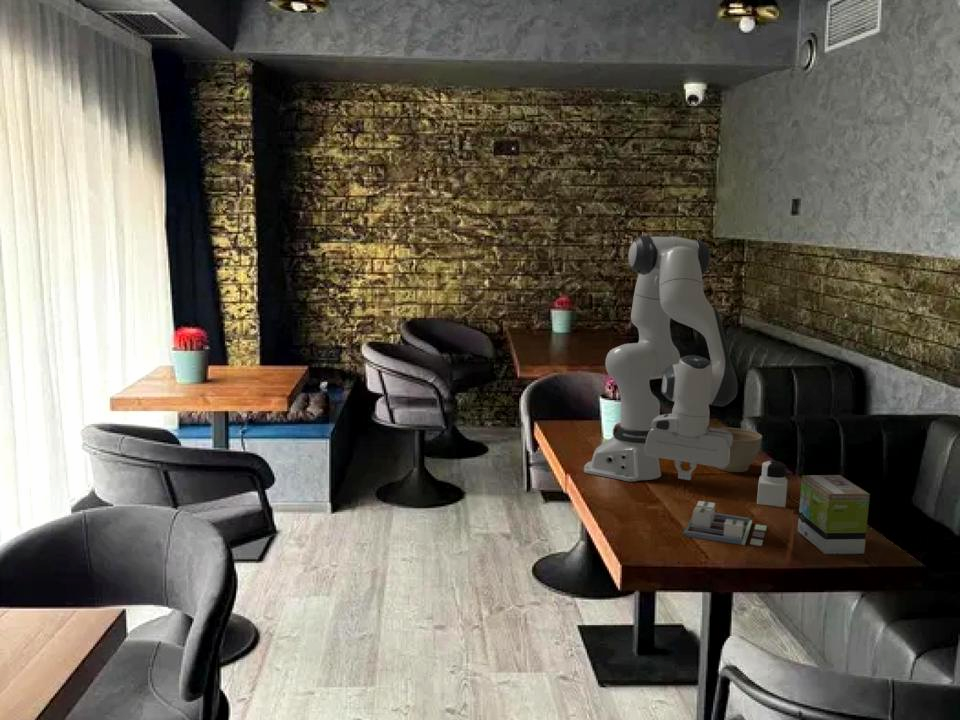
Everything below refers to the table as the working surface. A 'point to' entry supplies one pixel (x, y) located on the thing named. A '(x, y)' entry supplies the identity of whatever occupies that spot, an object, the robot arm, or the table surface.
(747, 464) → the planter bowl
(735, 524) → the tab
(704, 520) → the white slotted cube
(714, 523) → the switch bank
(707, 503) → the tab
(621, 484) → the table surface
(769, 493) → the medicine bottle
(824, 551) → the tea box
